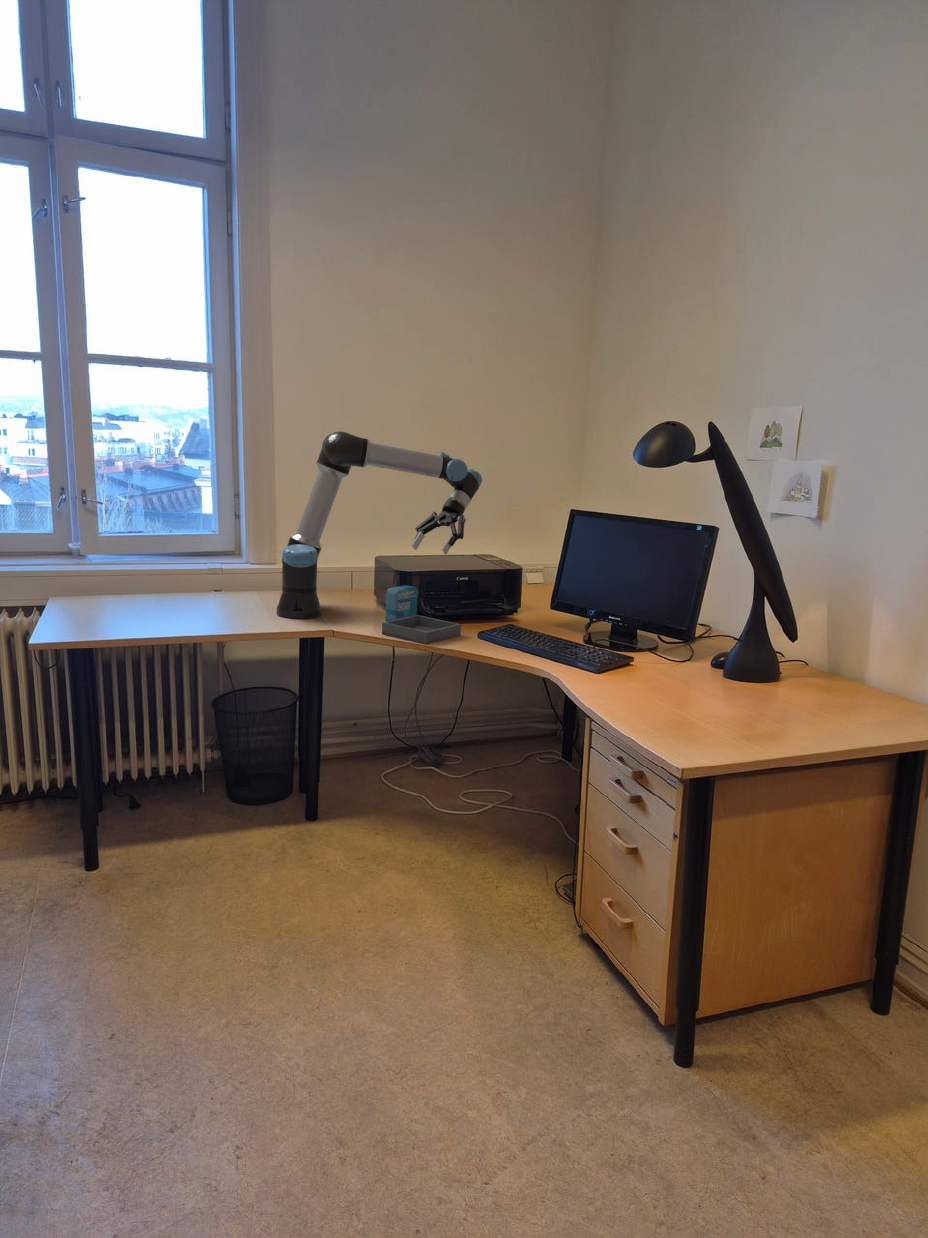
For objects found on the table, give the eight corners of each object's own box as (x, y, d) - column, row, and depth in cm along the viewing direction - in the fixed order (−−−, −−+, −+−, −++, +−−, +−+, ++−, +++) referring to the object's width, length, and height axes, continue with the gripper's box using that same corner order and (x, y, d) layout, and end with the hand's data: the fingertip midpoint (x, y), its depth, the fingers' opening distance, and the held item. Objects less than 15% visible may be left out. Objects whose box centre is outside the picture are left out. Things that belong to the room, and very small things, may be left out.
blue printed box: (395, 625, 255) (396, 590, 253) (384, 623, 258) (386, 588, 255) (416, 620, 265) (418, 586, 263) (406, 618, 268) (407, 584, 265)
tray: (381, 634, 242) (382, 622, 241) (417, 626, 256) (417, 615, 255) (426, 644, 232) (426, 632, 231) (460, 635, 246) (461, 624, 245)
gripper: (488, 515, 271) (461, 560, 263) (433, 509, 285) (406, 552, 277) (480, 500, 266) (452, 546, 257) (424, 495, 280) (397, 538, 271)
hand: (428, 549), depth 267 cm, fingers open, 13 cm apart
